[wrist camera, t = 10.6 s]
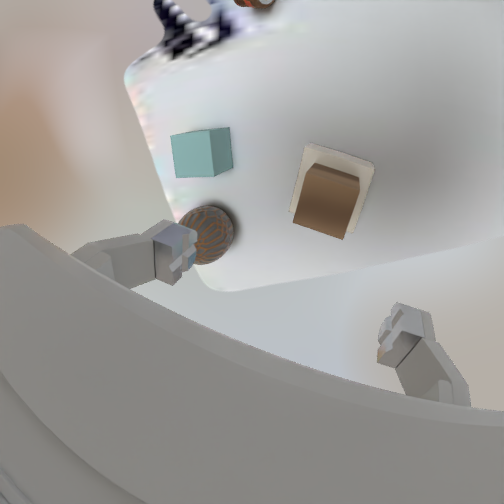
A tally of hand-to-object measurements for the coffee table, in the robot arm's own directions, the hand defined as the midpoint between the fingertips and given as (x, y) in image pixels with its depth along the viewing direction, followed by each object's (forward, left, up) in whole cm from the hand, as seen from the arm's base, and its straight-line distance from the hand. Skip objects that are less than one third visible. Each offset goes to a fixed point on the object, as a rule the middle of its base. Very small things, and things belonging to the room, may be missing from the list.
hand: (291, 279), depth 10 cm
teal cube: (+2, -15, -22) cm, 27 cm away
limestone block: (+2, 0, -22) cm, 22 cm away
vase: (+12, -13, -22) cm, 28 cm away
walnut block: (+2, 0, -18) cm, 18 cm away
